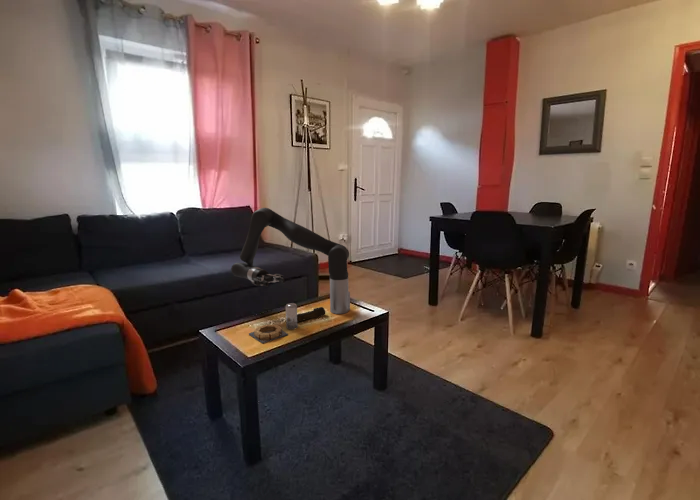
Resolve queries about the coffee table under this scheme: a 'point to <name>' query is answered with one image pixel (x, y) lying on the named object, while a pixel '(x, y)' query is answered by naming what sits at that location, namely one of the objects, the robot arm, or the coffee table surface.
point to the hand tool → (311, 314)
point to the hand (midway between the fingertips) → (276, 282)
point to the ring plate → (268, 333)
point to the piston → (291, 316)
